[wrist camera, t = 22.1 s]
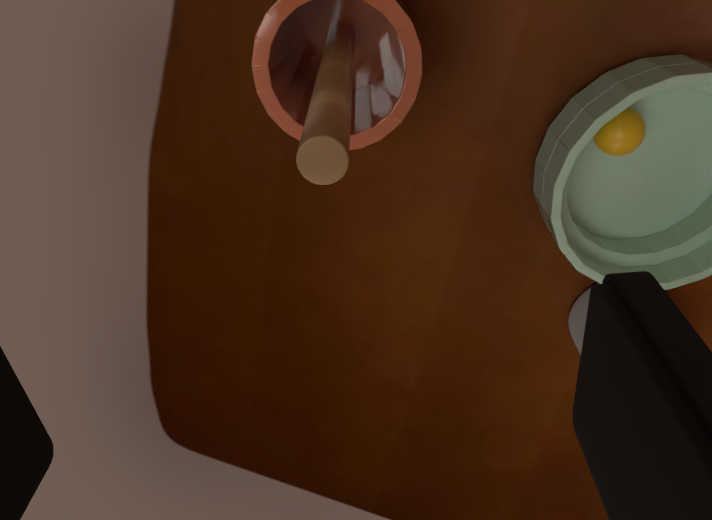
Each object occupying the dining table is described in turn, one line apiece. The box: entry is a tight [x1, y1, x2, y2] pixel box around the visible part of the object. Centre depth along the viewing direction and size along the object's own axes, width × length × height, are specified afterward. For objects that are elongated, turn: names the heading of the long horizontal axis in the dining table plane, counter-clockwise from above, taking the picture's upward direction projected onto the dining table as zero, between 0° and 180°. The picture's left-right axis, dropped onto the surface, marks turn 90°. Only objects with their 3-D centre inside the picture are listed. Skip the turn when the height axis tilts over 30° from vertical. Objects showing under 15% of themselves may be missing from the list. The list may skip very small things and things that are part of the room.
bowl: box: [533, 54, 712, 290], centre depth 37 cm, size 14×14×5 cm
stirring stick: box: [296, 21, 355, 185], centre depth 26 cm, size 2×2×20 cm
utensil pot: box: [252, 0, 423, 150], centre depth 31 cm, size 8×8×9 cm
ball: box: [593, 107, 646, 156], centre depth 36 cm, size 3×3×3 cm
